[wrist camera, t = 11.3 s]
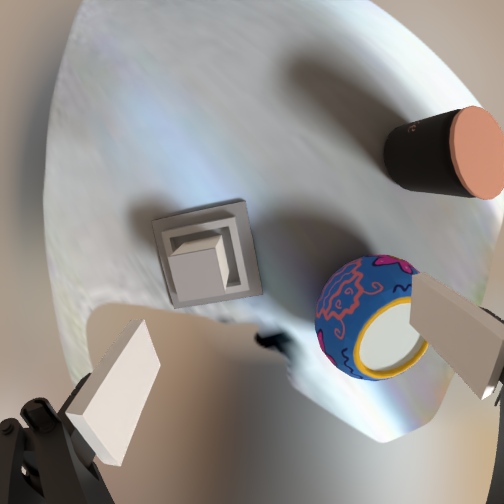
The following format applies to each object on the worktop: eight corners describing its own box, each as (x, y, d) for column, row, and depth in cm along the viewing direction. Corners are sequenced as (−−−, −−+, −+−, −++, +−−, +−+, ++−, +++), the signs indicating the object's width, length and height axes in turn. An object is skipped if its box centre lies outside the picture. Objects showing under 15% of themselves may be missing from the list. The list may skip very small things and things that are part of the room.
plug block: (184, 241, 41) (167, 257, 32) (221, 234, 40) (214, 248, 32) (192, 278, 42) (179, 301, 33) (229, 271, 42) (224, 294, 33)
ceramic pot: (358, 357, 47) (389, 411, 32) (282, 310, 44) (297, 366, 30) (419, 281, 44) (470, 316, 29) (351, 220, 41) (399, 240, 26)
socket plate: (152, 220, 41) (147, 222, 38) (245, 200, 40) (245, 202, 38) (175, 306, 44) (171, 313, 41) (262, 292, 43) (263, 299, 41)
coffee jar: (432, 133, 38) (506, 120, 20) (432, 194, 40) (508, 205, 23) (380, 120, 37) (449, 93, 20) (379, 187, 40) (453, 193, 22)
